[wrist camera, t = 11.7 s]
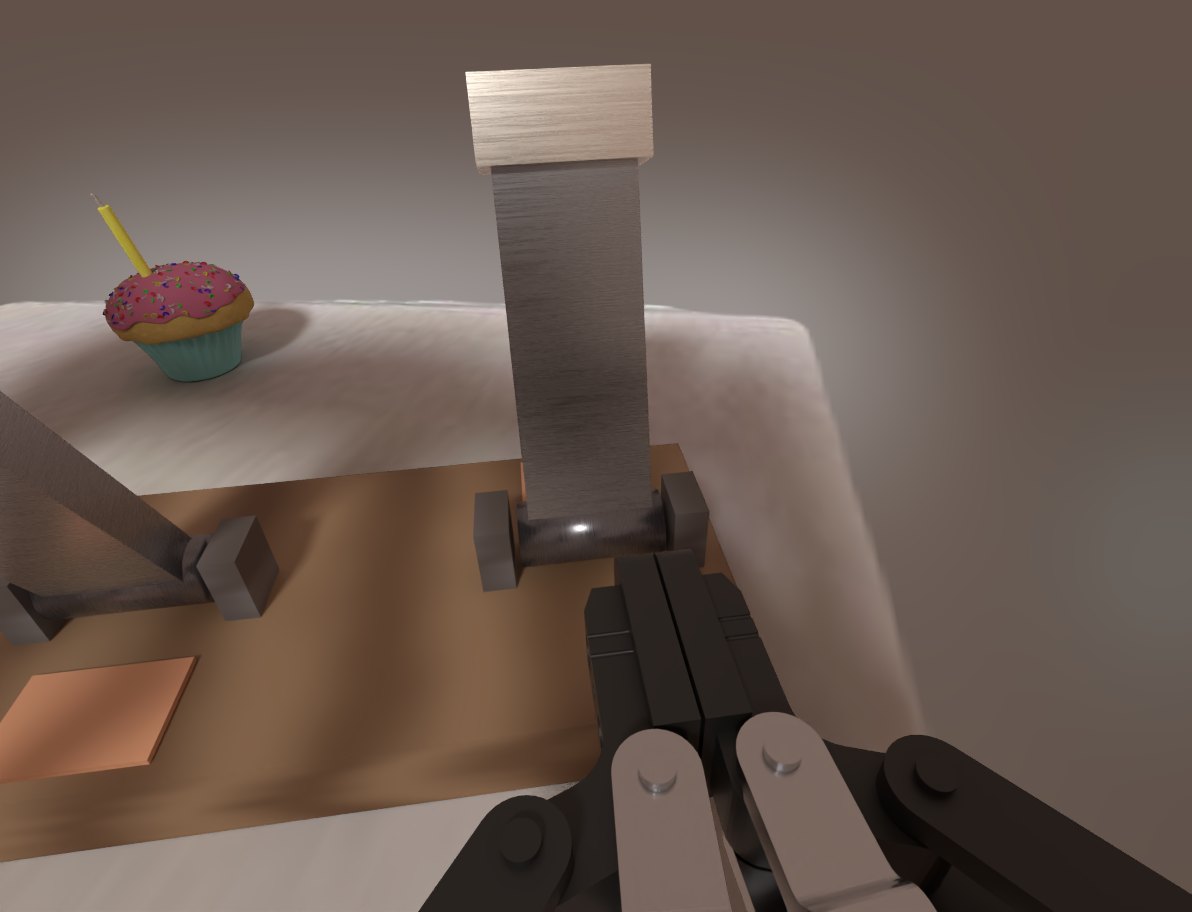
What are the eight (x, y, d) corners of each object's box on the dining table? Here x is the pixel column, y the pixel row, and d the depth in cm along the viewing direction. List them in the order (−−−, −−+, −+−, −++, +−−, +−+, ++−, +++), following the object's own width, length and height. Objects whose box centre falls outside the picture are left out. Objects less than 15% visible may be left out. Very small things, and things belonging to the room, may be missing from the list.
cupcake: (149, 409, 41) (53, 214, 34) (127, 363, 47) (40, 188, 40) (286, 367, 46) (225, 186, 39) (251, 329, 51) (192, 165, 44)
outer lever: (523, 579, 23) (465, 72, 18) (522, 549, 25) (471, 90, 20) (666, 563, 24) (650, 63, 18) (654, 535, 26) (636, 82, 21)
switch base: (-83, 873, 19) (-230, 769, 16) (132, 549, 31) (72, 449, 27) (771, 754, 21) (796, 640, 18) (675, 492, 33) (680, 394, 30)
